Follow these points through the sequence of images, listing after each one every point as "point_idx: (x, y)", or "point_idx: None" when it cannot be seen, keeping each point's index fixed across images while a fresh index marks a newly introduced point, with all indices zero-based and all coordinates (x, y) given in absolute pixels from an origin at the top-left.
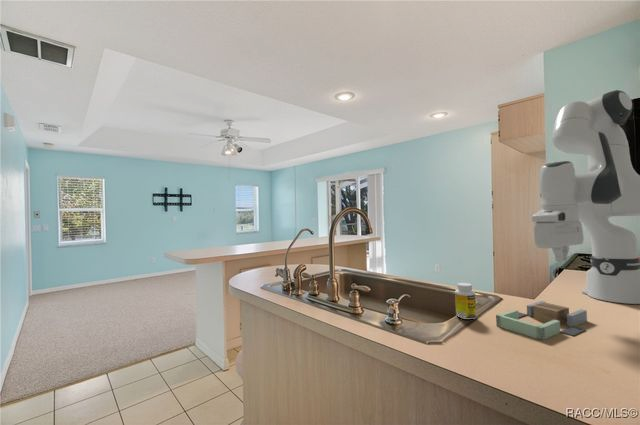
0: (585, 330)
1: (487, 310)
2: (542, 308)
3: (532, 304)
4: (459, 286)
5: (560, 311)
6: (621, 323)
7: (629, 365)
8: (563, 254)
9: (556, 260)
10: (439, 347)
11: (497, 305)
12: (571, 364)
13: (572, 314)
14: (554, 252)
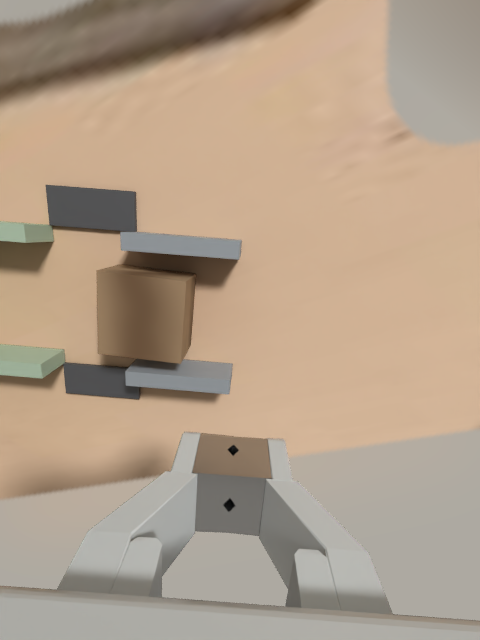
0: (137, 397)
1: (61, 83)
2: (97, 306)
3: (153, 241)
4: None
5: (125, 354)
6: (282, 435)
7: (8, 492)
8: (267, 522)
9: (182, 440)
10: None
11: (167, 69)
12: None
13: (142, 381)
14: (123, 512)
